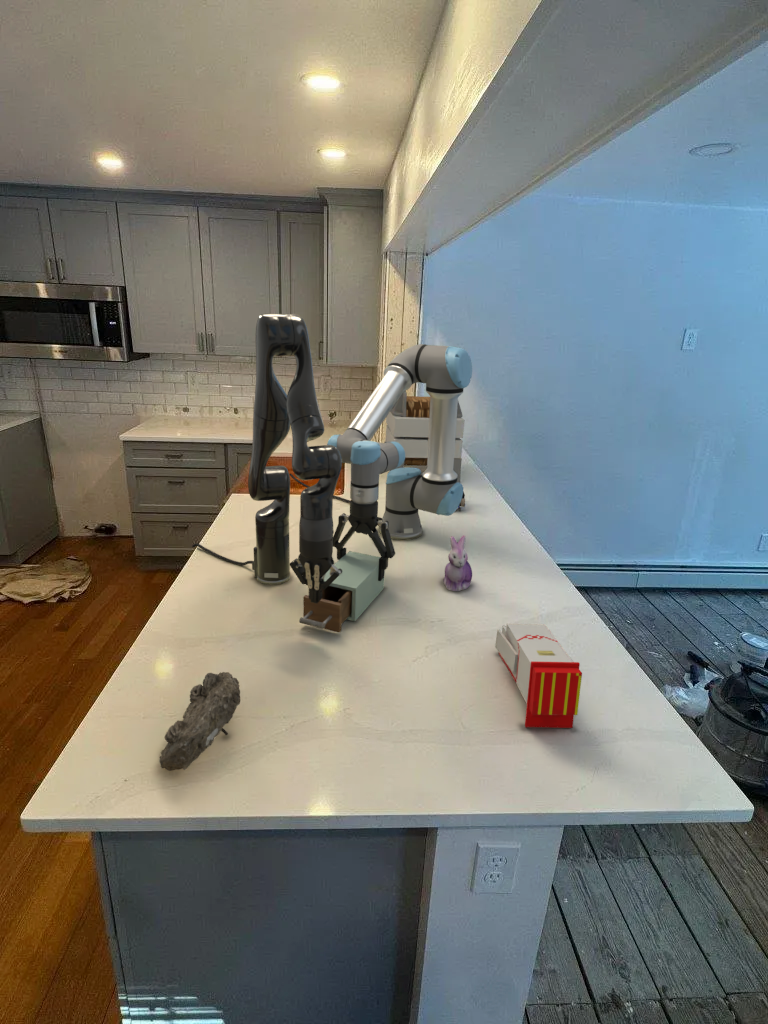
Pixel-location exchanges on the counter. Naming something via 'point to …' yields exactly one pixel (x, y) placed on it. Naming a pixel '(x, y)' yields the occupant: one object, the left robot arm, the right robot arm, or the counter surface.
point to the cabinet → (358, 580)
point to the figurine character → (462, 502)
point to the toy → (541, 674)
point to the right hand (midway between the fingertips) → (361, 574)
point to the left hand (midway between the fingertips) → (315, 601)
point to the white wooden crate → (418, 430)
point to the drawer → (328, 609)
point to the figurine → (457, 567)
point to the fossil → (201, 720)
